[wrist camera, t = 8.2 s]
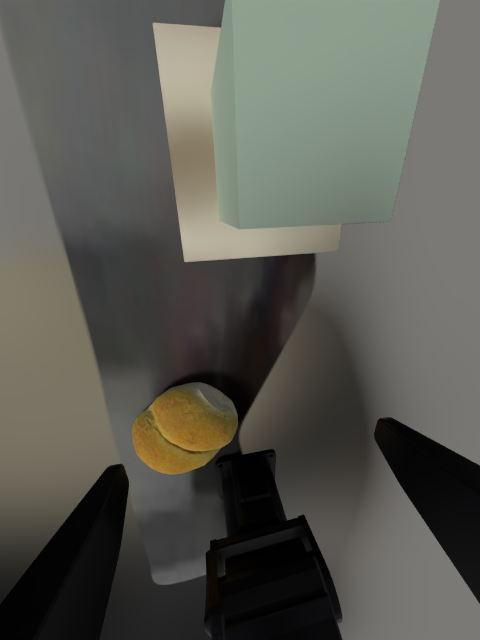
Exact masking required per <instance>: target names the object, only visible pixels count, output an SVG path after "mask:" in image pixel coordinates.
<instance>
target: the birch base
mask: <svg viewBox="0 0 480 640" xmlns="http://www.w3.org/2000/svg"><path fill="white" fill-rule="evenodd" d="M153 29H154V36H155V44H156V51H157V59H158V66H159V74H160V81H161V89H162V97H163V104H164V112H165V119H166V127H167V134H168V142H169V149H170V157H171V164H172V172H173V179H174V187H175V194H176V202H177V209H178V217H179V224H180V232H181V239H182V247H183V254H184V262H192V261H206V260H220V259H235V258H249V257H263V256H277V255H291V254H305V253H320V252H334V251H338V249H339V242H340V234H341V228H342V224H337V225H317V226H298V227H278V228H258V229H237V228H235V227H233V226H230V225H228V224H226V223H224V222H221V221H219V216H218V201H217V186H216V170H215V155H214V140H213V125H212V110H211V87H212V81H213V75H214V69H215V62H216V56H217V50H218V44H219V37H220V31H221V28H217V27H204V26H190V25H176V24H163V23H153Z"/></svg>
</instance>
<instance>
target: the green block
mask: <svg viewBox="0 0 480 640" xmlns="http://www.w3.org/2000/svg"><path fill="white" fill-rule="evenodd" d="M439 2H440V0H225V6H224V12H223V19H222V25H221V31H220V37H219V44H218V50H217V56H216V62H215V69H214V75H213V81H212V87H211V110H212V125H213V140H214V155H215V170H216V186H217V201H218V216H219V221H221V222H224V223H226V224H228V225H230V226H233V227H235V228H237V229H258V228H278V227H298V226H317V225H337V224H357V223H375V222H391V220H392V215H393V211H394V206H395V202H396V197H397V193H398V188H399V184H400V179H401V175H402V170H403V166H404V161H405V156H406V152H407V147H408V143H409V138H410V134H411V129H412V125H413V120H414V116H415V111H416V107H417V102H418V97H419V93H420V89H421V84H422V79H423V75H424V70H425V66H426V61H427V57H428V52H429V48H430V43H431V39H432V34H433V30H434V25H435V21H436V16H437V11H438V6H439Z"/></svg>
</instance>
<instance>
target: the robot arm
mask: <svg viewBox="0 0 480 640" xmlns="http://www.w3.org/2000/svg"><path fill="white" fill-rule="evenodd" d="M374 438H375V441H376V442H377V444H378V446H379V448H380V450H381V451H382V453H383V455H384V457H385V459H386V461H387V462H388V464H389V466H390V468H391V470H392V471H393V473H394V475H395V477H396V478H397V480H398V482H399V483H400V485H401V487H402V488H403V490H404V491H405V493H406V494H407V496H408V497H409V499H410V500H411V502H412V503H413V505H414V506H415V508H416V509H417V511H418V512H419V514H420V515H421V517H422V518H423V519H424V521H425V522H426V524H427V525H428V527H429V529H430V530H431V531H432V533H433V534H434V536H435V537H436V539H437V541H438V542H439V544H440V545H441V547H442V548H443V550H444V551H445V552H446V554H447V555H448V557H449V558H450V560H451V561H452V563H453V564H454V566H455V567H456V569H457V570H458V572H459V573H460V575H461V576H462V578H463V579H464V581H465V582H466V584H467V585H468V587H469V588H470V590H471V591H472V593H473V594H474V596H475V597H476V599H477V600H478V602H479V603H480V466H479V465H478V464H476V463H474V462H472V461H470V460H468V459H467V458H465V457H463V456H461V455H459V454H457V453H455V452H454V451H452V450H450V449H448V448H446V447H445V446H443V445H441V444H439V443H437V442H435V441H433V440H432V439H430V438H428V437H426V436H424V435H422V434H421V433H419V432H417V431H415V430H413V429H411V428H410V427H408V426H406V425H404V424H402V423H400V422H398V421H397V420H395V419H393V418H391V417H385V418H380V419H379V420H378V421H377V425H376V429H375V433H374ZM275 463H276V454H275V451H274V450H273V449H270V450H265V451H259V452H255V453H249V454H244V455H239V456H233V457H228V458H223V459H219V460H217V461H216V463H215V464H216V473H217V481H218V489H219V497H220V499H223V502H224V511H225V520H226V530H227V538H223V539H220V540H216V539H215V540H211V541H210V550H209V551H208V552H207V553H206V574H207V580H206V581H207V582H206V598H205V613H204V614H205V615H204V627H205V631H206V632H207V633H208V634H209V636H210V637H211V638H212V640H342V637H341V634H340V630H339V627H338V623H341V622H342V613H341V608H340V604H339V600H338V596H337V593H336V590H335V586H334V584H333V580H332V578H331V575H330V572H329V570H328V567H327V565H326V562H325V560H324V558H323V556H322V554H321V551H320V549H319V547H318V545H317V542H316V540H315V538H314V536H313V534H312V531H311V529H310V527H309V525H308V523H307V520H306V518H305V516H304V515H301V516H298V518H295V519H291V520H287V519H286V515H285V512H284V509H283V505H282V502H281V499H280V495H279V492H278V489H277V486H276V482H275ZM128 490H129V480H128V477H127V474H126V471H125V468H124V465H123V464H116V465H111V466H109V467H108V468H107V469H106V470H105V471H104V472H103V474H102V475H101V476H100V477H99V479H98V480H97V481H96V483H95V484H94V485H93V487H92V488H91V489H90V490H89V491H88V493H87V494H86V495H85V496H84V498H83V499H82V500H81V501H80V503H79V504H78V505H77V507H76V508H75V509H74V510H73V512H72V513H71V514H70V516H69V517H68V518H67V519H66V520H65V522H64V523H63V525H62V526H61V527H60V528H59V529H58V531H57V532H56V533H55V534H54V536H53V537H52V538H51V540H50V541H49V542H48V543H47V545H46V546H45V547H44V549H43V550H42V551H41V552H40V554H39V555H38V556H37V558H36V559H35V560H34V561H33V562H32V564H31V565H30V566H29V568H28V569H27V570H26V571H25V573H24V574H23V575H22V576H21V578H20V579H19V580H18V582H17V583H16V584H15V585H14V587H13V588H12V589H11V591H10V592H9V593H8V594H7V596H6V597H5V598H4V599H3V601H2V602H1V603H0V640H99V639H100V635H101V631H102V626H103V622H104V618H105V613H106V609H107V604H108V600H109V596H110V592H111V587H112V583H113V578H114V574H115V570H116V565H117V561H118V557H119V551H120V547H121V540H122V534H123V526H124V519H125V511H126V504H127V497H128ZM224 572H225V574H226V575H225V574H224Z"/></svg>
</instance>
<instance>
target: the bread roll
mask: <svg viewBox="0 0 480 640" xmlns="http://www.w3.org/2000/svg"><path fill="white" fill-rule="evenodd" d="M237 426H238V414H237V412H236V409H235V406H234V404H233V402H232V401H231V400H230V399H229V398H228V397H227V396H225V395H224V394H223V393H222V392H221V391H219V390H218V389H216V388H214V387H212V386H210V385H208V384H205V383H201V382H194V383H188V384H184V385H180V386H176V387H172V388H170V389H168V390H167V391H166V392H164V393H163V394H161V395H160V396H158V397H157V399H156V400H155V401H154V402H153V403H152V405H150V407H149V408H147V409H146V410H145V411H144V412H142V413H141V414H140V415H139V416H138V418H137V419H136V420H135V422H134V425H133V429H132V437H133V444H134V448H135V451H136V453H137V454H138V456H139V457H140V458H141V459H142V461H143V462H145V463H146V464H147V465H148V466H149V467H150V468H152V469H154V470H156V471H158V472H161V473H166V474H180V473H184V472H188V471H191V470H193V469H196V468H198V467H201V466H203V465H205V464H206V463H207V462H209V461H210V460H211V459H212V458H213V457H214V456H215V455H216V453H217V452H218V451H219V450H220V448H221V447H223V446H225V445H226V444H228V443H229V442H231V440H232V438H233V436H234V434H235V432H236V429H237Z"/></svg>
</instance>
